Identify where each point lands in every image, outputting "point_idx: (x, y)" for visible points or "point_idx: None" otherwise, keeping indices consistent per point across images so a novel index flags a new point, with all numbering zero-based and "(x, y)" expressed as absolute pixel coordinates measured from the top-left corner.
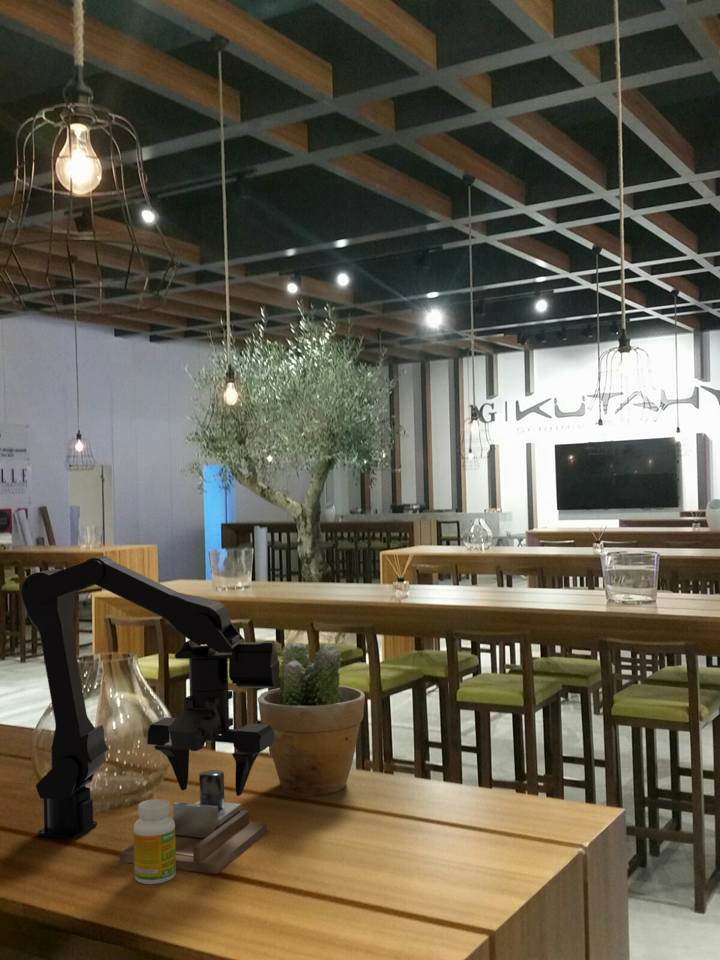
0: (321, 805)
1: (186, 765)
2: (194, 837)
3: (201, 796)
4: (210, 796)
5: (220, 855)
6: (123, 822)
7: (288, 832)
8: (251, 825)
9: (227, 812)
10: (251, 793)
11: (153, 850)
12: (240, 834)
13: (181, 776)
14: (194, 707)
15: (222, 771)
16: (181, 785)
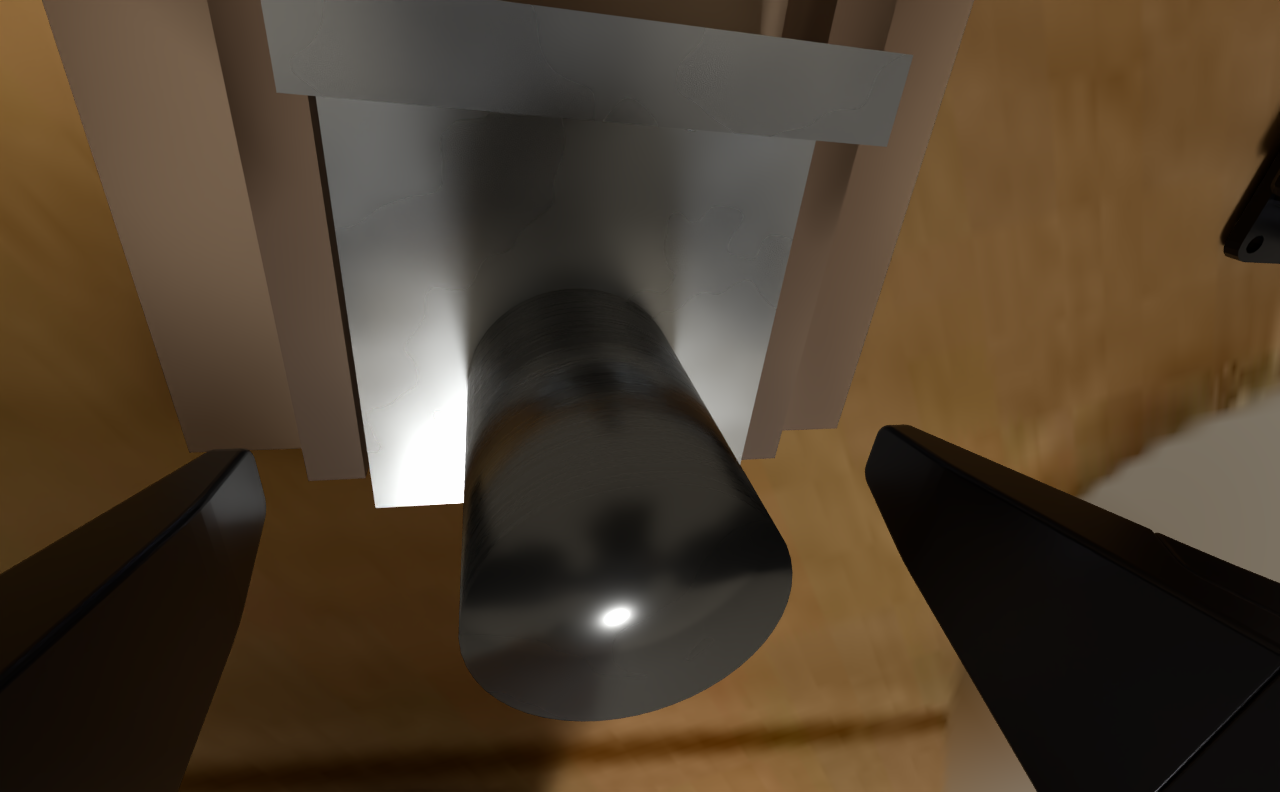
0: None
1: (1005, 668)
2: None
3: (664, 359)
4: (553, 359)
5: None
6: (1089, 326)
7: (53, 447)
8: (278, 391)
9: (366, 309)
10: (602, 742)
11: None
12: (235, 206)
13: (991, 498)
14: None
15: (531, 713)
16: (927, 444)
